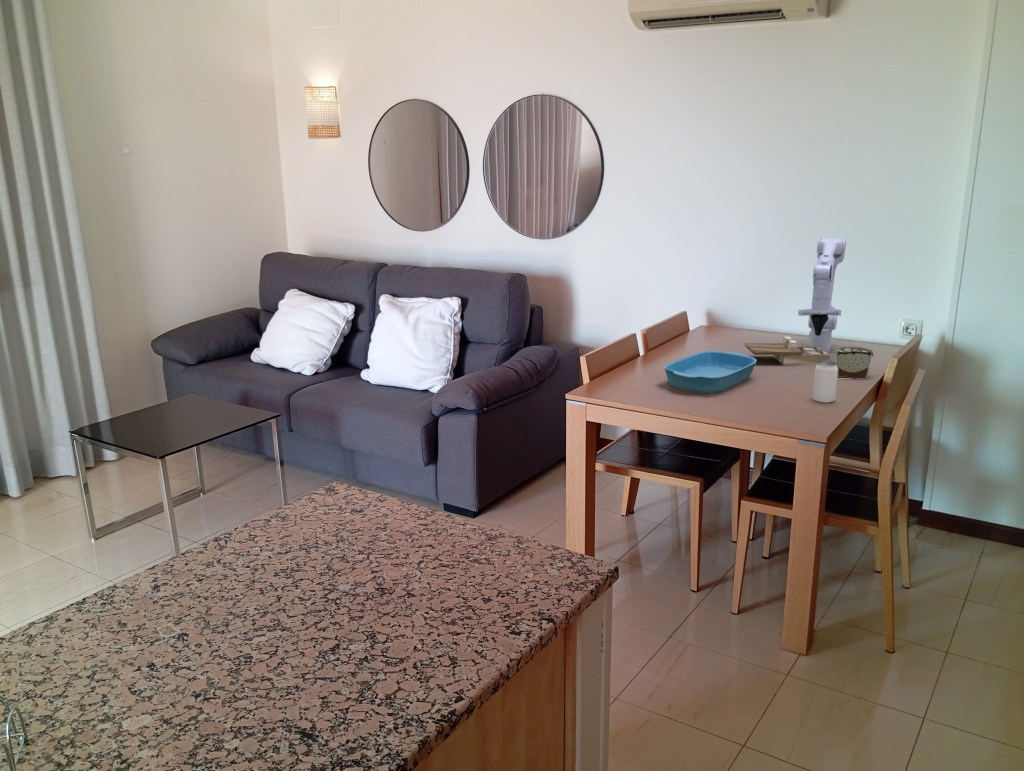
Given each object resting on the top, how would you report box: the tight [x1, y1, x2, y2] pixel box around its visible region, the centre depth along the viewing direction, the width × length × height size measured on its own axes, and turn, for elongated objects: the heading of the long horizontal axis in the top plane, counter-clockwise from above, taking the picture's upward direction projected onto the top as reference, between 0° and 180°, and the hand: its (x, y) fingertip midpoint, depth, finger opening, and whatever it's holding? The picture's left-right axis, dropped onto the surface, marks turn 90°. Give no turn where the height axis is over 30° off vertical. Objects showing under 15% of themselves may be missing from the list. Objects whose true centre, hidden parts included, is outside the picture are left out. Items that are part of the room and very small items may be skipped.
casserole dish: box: [664, 350, 757, 394], centre depth 272 cm, size 37×22×7 cm, turn 138°
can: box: [812, 360, 838, 404], centre depth 249 cm, size 6×6×12 cm
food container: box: [834, 345, 874, 380], centre depth 275 cm, size 12×6×10 cm, turn 84°
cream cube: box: [803, 348, 816, 355], centre depth 297 cm, size 4×4×4 cm
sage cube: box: [806, 351, 821, 355], centre depth 292 cm, size 4×4×4 cm
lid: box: [744, 336, 802, 356], centre depth 294 cm, size 14×17×4 cm
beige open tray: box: [772, 346, 830, 366], centre depth 295 cm, size 13×16×4 cm
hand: (817, 334), depth 292 cm, fingers closed
